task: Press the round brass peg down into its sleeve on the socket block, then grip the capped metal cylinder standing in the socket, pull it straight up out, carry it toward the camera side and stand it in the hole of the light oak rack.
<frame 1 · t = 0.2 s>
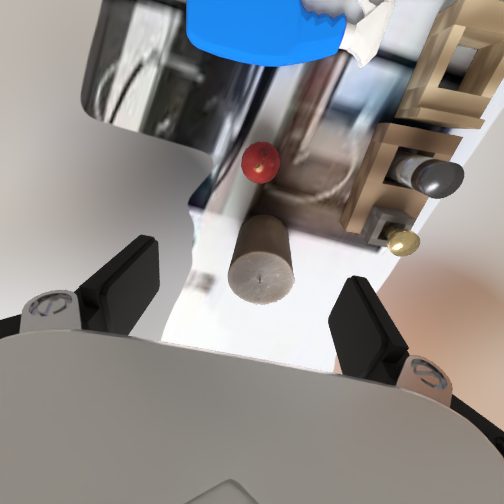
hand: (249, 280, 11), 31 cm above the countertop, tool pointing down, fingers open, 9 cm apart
capped metal cylinder: (394, 164, 36), resting in socket block
onion: (261, 159, 38), on the countertop
rack: (445, 71, 30), on the countertop
socket block: (386, 183, 38), on the countertop
pillar candle: (263, 237, 45), on the countertop
round brass peg: (397, 237, 32), point 10 cm above the countertop, slide at 0.0 cm
spray bottle: (286, 19, 29), on the countertop
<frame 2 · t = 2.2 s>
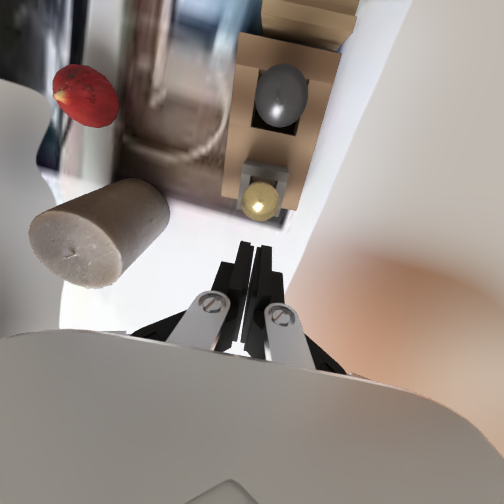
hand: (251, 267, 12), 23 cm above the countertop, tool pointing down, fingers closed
capped metal cylinder: (277, 106, 28), resting in socket block
onion: (109, 100, 29), on the countertop
socket block: (272, 134, 29), on the countertop
pillar candle: (141, 209, 36), on the countertop
round brass peg: (260, 197, 24), point 10 cm above the countertop, slide at 0.0 cm
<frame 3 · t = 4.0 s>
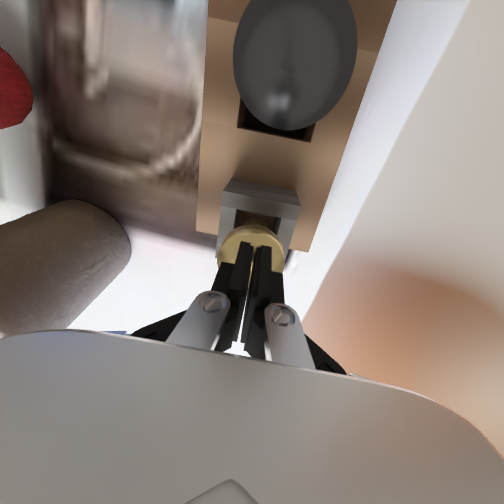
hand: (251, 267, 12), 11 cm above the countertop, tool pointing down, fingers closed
capped metal cylinder: (280, 96, 18), resting in socket block
onion: (25, 87, 19), on the countertop
socket block: (272, 138, 19), on the countertop
pillar candle: (92, 240, 26), on the countertop
round brass peg: (253, 245, 14), point 9 cm above the countertop, slide at 0.3 cm, touching gripper
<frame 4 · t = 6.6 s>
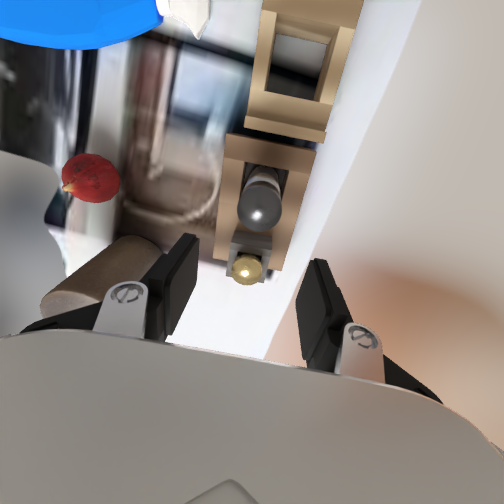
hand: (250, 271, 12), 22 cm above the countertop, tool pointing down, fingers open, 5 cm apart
capped metal cylinder: (263, 181, 31), resting in socket block
onion: (112, 173, 32), on the countertop
rack: (294, 71, 25), on the countertop
socket block: (259, 202, 32), on the countertop
pillar candle: (140, 260, 39), on the countertop
round brass peg: (247, 263, 28), point 8 cm above the countertop, slide at 2.1 cm
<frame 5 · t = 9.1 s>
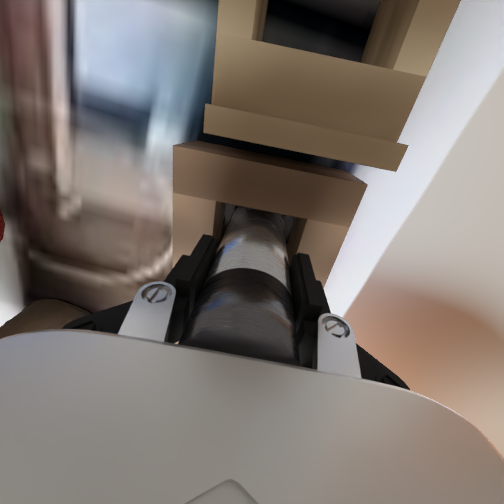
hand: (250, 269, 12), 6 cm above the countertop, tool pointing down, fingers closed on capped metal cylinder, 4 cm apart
capped metal cylinder: (257, 224, 17), resting in socket block, touching gripper
rack: (320, 12, 11), on the countertop
socket block: (250, 257, 19), on the countertop
pillar candle: (72, 330, 26), on the countertop
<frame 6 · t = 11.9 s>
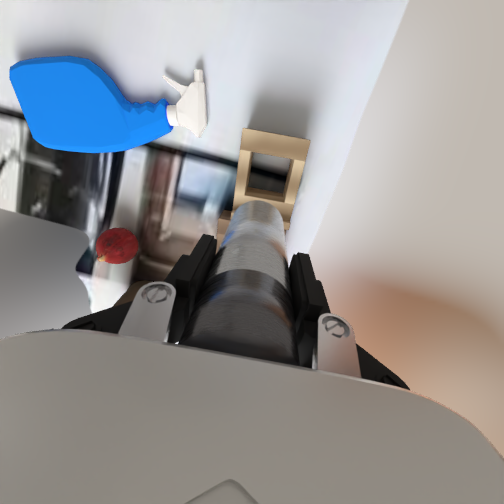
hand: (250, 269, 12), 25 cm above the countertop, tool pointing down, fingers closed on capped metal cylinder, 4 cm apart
capped metal cylinder: (257, 225, 17), point 19 cm above the countertop, touching gripper
onion: (131, 236, 41), on the countertop
rack: (269, 171, 33), on the countertop
socket block: (247, 257, 40), on the countertop
pillar candle: (152, 298, 47), on the countertop
spray bottle: (122, 109, 32), on the countertop
when the fingers open (8 cm above the countertop, at t = 14.5 s): capped metal cylinder drops 2 cm, resting in rack.
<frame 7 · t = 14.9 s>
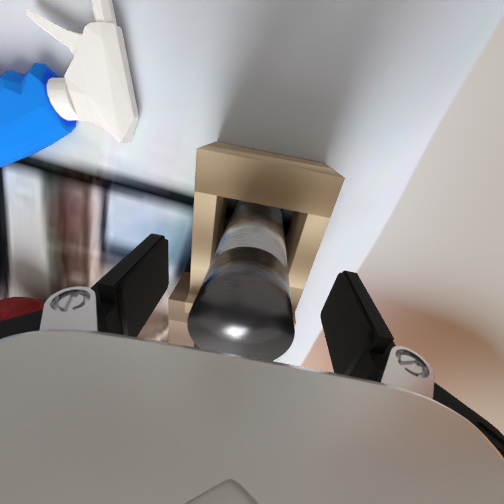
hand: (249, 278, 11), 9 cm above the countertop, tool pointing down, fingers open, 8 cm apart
capped metal cylinder: (257, 216, 19), resting in rack
onion: (45, 300, 26), on the countertop
rack: (258, 217, 19), on the countertop
socket block: (225, 335, 26), on the countertop
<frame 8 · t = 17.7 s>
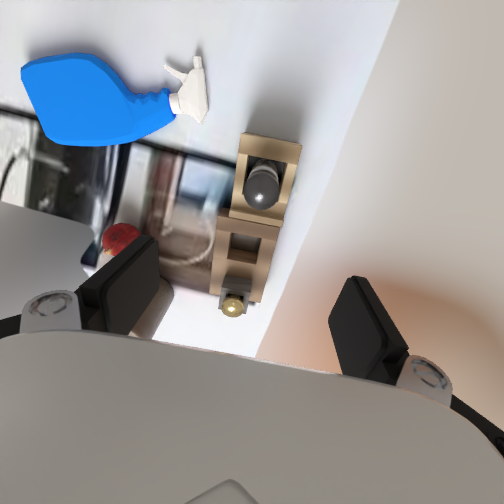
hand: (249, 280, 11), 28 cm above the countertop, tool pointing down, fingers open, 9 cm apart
capped metal cylinder: (264, 172, 36), resting in rack
onion: (134, 230, 43), on the countertop
rack: (264, 172, 36), on the countertop
socket block: (243, 252, 43), on the countertop
pillar candle: (153, 290, 50), on the countertop
round brass peg: (234, 300, 39), point 8 cm above the countertop, slide at 2.1 cm
spray bottle: (126, 102, 33), on the countertop
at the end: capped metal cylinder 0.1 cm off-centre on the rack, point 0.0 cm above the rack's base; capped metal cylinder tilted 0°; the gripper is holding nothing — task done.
